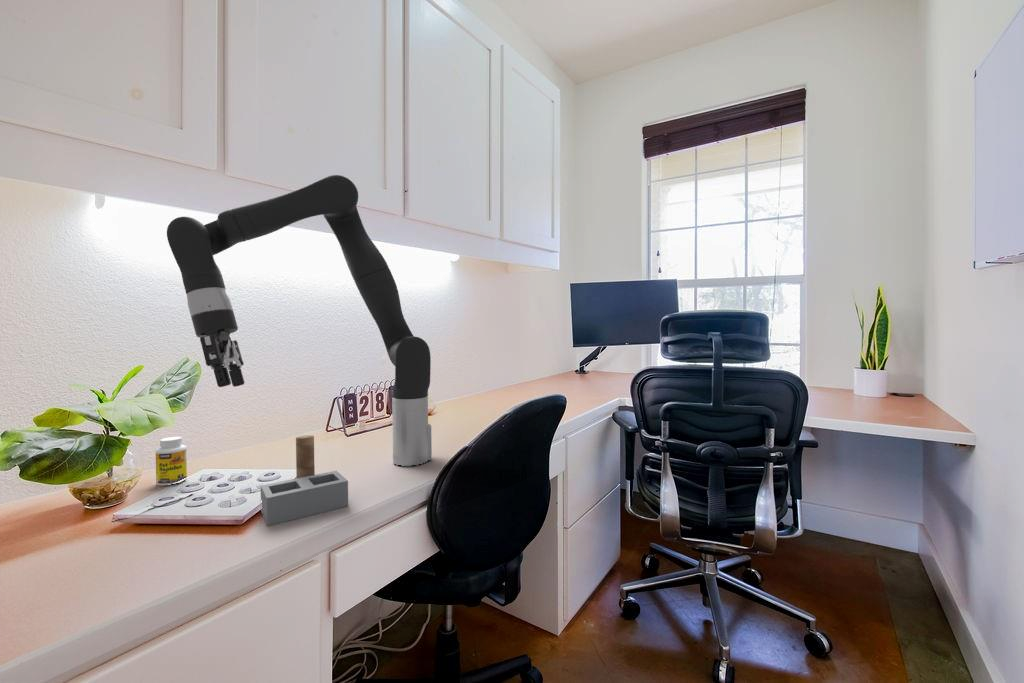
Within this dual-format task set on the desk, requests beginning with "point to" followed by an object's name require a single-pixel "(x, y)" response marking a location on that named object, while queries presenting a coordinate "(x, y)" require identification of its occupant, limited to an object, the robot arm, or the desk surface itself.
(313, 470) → the walnut pin
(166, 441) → the supplement bottle
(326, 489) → the bore block
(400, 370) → the robot arm
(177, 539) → the desk surface
